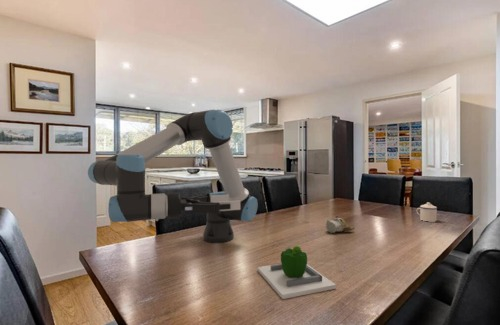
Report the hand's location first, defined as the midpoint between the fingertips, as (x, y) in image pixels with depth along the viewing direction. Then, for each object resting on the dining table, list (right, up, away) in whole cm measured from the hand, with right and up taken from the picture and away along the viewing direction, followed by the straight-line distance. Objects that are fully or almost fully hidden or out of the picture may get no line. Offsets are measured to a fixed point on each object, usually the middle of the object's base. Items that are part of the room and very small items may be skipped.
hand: (234, 201), depth 87 cm
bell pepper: (+20, -25, 0) cm, 32 cm away
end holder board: (+20, -26, 0) cm, 32 cm away
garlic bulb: (+53, -25, +56) cm, 81 cm away
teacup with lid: (+118, -24, +81) cm, 145 cm away
